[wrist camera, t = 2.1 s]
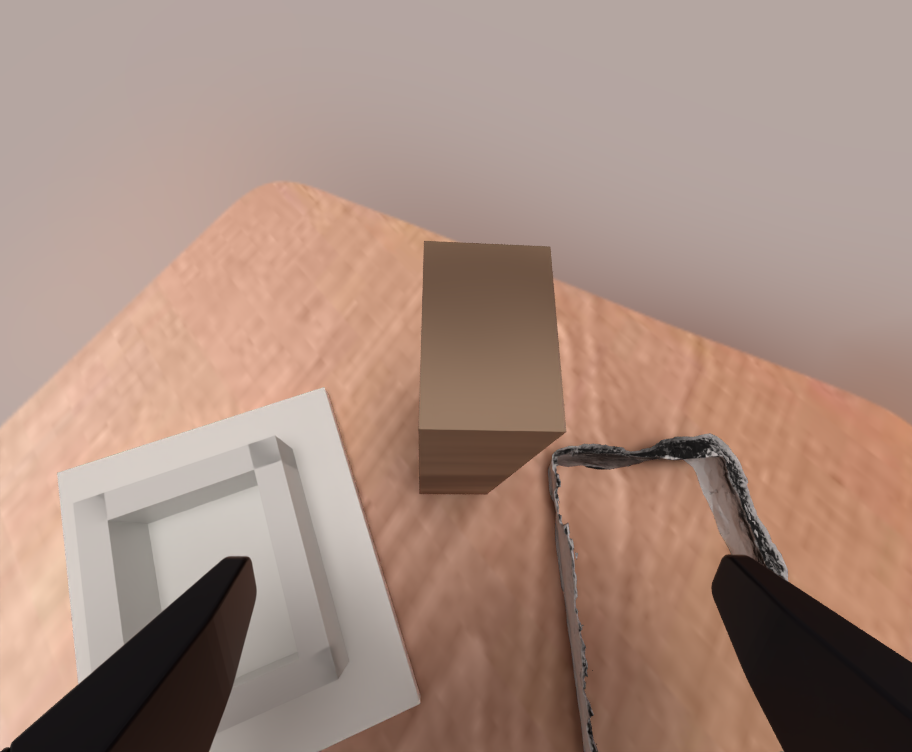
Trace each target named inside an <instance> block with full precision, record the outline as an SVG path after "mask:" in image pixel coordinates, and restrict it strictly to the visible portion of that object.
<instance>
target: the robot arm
mask: <svg viewBox="0 0 912 752" xmlns="http://www.w3.org/2000/svg"><path fill="white" fill-rule="evenodd" d="M712 595H713V598H714V601H715V603H716V606H717V608H718V611H719V613H720V615H721V618H722V620H723V623H724V625H725V628H726V630H727V632H728V635H729V637H730V640H731V642H732V645H733V647H734V649H735V652H736V654H737V657H738V659H739V662H740V664H741V666H742V669H743V671H744V673H745V675H746V678H747V680H748V682H749V684H750V686H751V688H752V690H753V692H754V694H755V696H756V698H757V700H758V702H759V704H760V706H761V708H762V710H763V712H764V714H765V715H766V717H767V719H768V721H769V723H770V725H771V727H772V729H773V731H774V733H775V735H776V737H777V739H778V741H779V743H780V745H781V746H782V748H783V750H784V752H912V662H910V661H909V660H907V659H906V658H904V657H903V656H901V655H899V654H898V653H896V652H895V651H893V650H892V649H890V648H889V647H887V646H886V645H884V644H883V643H881V642H880V641H878V640H877V639H875V638H874V637H872V636H870V635H869V634H867V633H866V632H864V631H863V630H861V629H860V628H858V627H857V626H855V625H854V624H852V623H851V622H849V621H848V620H846V619H845V618H843V617H841V616H840V615H838V614H837V613H835V612H834V611H832V610H831V609H829V608H828V607H826V606H825V605H823V604H822V603H820V602H819V601H817V600H816V599H814V598H812V597H811V596H809V595H808V594H806V593H805V592H803V591H802V590H800V589H799V588H797V587H796V586H794V585H793V584H791V583H790V582H788V581H787V580H785V579H783V578H782V577H780V576H779V575H777V574H776V573H774V572H773V571H771V570H770V569H768V568H767V567H765V566H764V565H762V564H761V563H759V562H758V561H756V560H754V559H753V558H751V557H750V556H747V555H725V556H724V557H723V558H722V559H721V562H720V564H719V567H718V569H717V572H716V574H715V577H714V579H713V582H712ZM256 596H257V587H256V581H255V576H254V570H253V565H252V561H251V559H250V557H248V556H228V557H225V558H223V559H222V560H221V561H220V562H219V563H217V564H216V565H215V566H214V567H213V568H212V569H211V570H209V571H208V572H207V573H206V574H205V575H204V576H202V577H201V578H200V579H199V580H198V581H197V582H196V583H194V584H193V585H192V586H191V587H190V588H189V589H187V590H186V591H185V592H184V593H183V594H182V595H181V596H179V597H178V598H177V599H176V600H175V601H174V602H172V603H171V604H170V605H169V606H168V607H167V608H166V609H164V610H163V611H162V612H161V613H160V614H159V615H158V616H156V617H155V618H154V619H153V620H152V621H151V622H149V623H148V624H147V625H146V626H145V627H144V628H143V629H141V630H140V631H139V632H138V633H137V634H136V635H134V636H133V637H132V638H131V639H130V640H129V641H128V642H126V643H125V644H124V645H123V646H122V647H121V648H120V649H118V650H117V651H116V652H115V653H114V654H113V655H111V656H110V657H109V658H108V659H107V660H106V661H105V662H103V663H102V664H101V665H100V666H99V667H98V668H96V669H95V670H94V671H93V672H92V673H91V674H90V675H88V676H87V677H86V678H85V679H84V680H83V681H81V682H80V683H79V684H78V685H77V686H76V687H75V688H73V689H72V690H71V691H70V692H69V693H68V694H67V695H65V696H64V697H63V698H62V699H61V700H60V701H58V702H57V703H56V704H55V705H54V706H53V707H52V708H50V709H49V710H48V711H47V712H46V713H45V714H43V715H42V716H41V717H40V718H39V719H38V720H37V721H35V722H34V723H33V724H32V725H31V726H30V727H29V728H27V729H26V730H25V731H24V732H23V733H22V734H20V735H19V736H18V737H17V738H16V739H15V740H14V741H13V742H12V743H11V746H10V748H9V747H6V748H4V749H3V750H2V751H1V752H209V751H210V748H211V745H212V743H213V740H214V737H215V735H216V732H217V729H218V727H219V724H220V721H221V719H222V716H223V713H224V711H225V708H226V705H227V702H228V699H229V697H230V694H231V691H232V687H233V684H234V680H235V677H236V673H237V669H238V666H239V662H240V658H241V654H242V650H243V647H244V643H245V639H246V635H247V632H248V628H249V624H250V620H251V617H252V613H253V609H254V605H255V601H256Z"/></svg>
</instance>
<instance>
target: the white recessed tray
mask: <svg viewBox="0 0 912 752" xmlns="http://www.w3.org/2000/svg"><path fill="white" fill-rule="evenodd" d="M57 475H58V485H59V495H60V506H61V516H62V526H63V536H64V546H65V556H66V566H67V576H68V586H69V596H70V606H71V616H72V626H73V636H74V646H75V656H76V666H77V676H78V684H79V683H80V682H81V681H83V680H84V679H85V678H86V677H87V676H88V675H90V674H91V673H92V672H93V671H94V670H95V669H96V668H98V667H99V666H100V665H101V664H102V663H103V662H105V661H106V660H107V659H108V658H109V657H110V656H111V655H113V654H114V653H115V652H116V651H117V650H118V649H120V648H121V647H122V646H123V645H124V644H125V643H126V642H128V641H129V640H130V639H131V638H132V637H133V636H134V635H136V634H137V633H138V632H139V631H140V630H141V629H143V628H144V627H145V626H146V625H147V624H148V623H149V622H151V621H152V620H153V619H154V618H155V617H156V616H158V615H159V614H160V613H161V612H162V611H163V610H164V609H166V608H167V607H168V606H169V605H170V604H171V603H172V602H174V601H175V600H176V599H177V598H178V597H179V596H181V595H182V594H183V593H184V592H185V591H186V590H187V589H189V588H190V587H191V586H192V585H193V584H194V583H196V582H197V581H198V580H199V579H200V578H201V577H202V576H204V575H205V574H206V573H207V572H208V571H209V570H211V569H212V568H213V567H214V566H215V565H216V564H217V563H219V562H220V561H221V560H222V559H223V558H225V557H228V556H248V557H250V559H251V561H252V565H253V570H254V576H255V581H256V587H257V596H256V601H255V605H254V609H253V613H252V617H251V620H250V624H249V628H248V632H247V635H246V639H245V643H244V647H243V650H242V654H241V658H240V662H239V666H238V669H237V673H236V677H235V680H234V684H233V687H232V691H231V694H230V697H229V699H228V702H227V705H226V708H225V711H224V713H223V716H222V719H221V721H220V724H219V727H218V729H217V732H216V735H215V737H214V740H213V743H212V745H211V748H210V751H209V752H319V751H321V750H323V749H326V748H328V747H330V746H332V745H334V744H336V743H338V742H340V741H342V740H345V739H347V738H349V737H351V736H353V735H355V734H357V733H359V732H361V731H364V730H366V729H368V728H370V727H372V726H374V725H376V724H378V723H380V722H383V721H385V720H387V719H389V718H391V717H393V716H395V715H397V714H399V713H402V712H404V711H406V710H408V709H410V708H412V707H414V706H416V705H418V704H420V693H419V689H418V686H417V683H416V680H415V676H414V673H413V670H412V667H411V663H410V660H409V657H408V653H407V650H406V647H405V644H404V640H403V637H402V634H401V630H400V627H399V624H398V621H397V617H396V614H395V611H394V608H393V604H392V601H391V598H390V594H389V591H388V588H387V585H386V581H385V578H384V575H383V572H382V568H381V565H380V562H379V558H378V555H377V552H376V549H375V545H374V542H373V539H372V536H371V532H370V529H369V526H368V522H367V519H366V516H365V513H364V509H363V506H362V503H361V499H360V496H359V493H358V490H357V486H356V483H355V480H354V477H353V473H352V470H351V467H350V463H349V460H348V457H347V454H346V450H345V447H344V444H343V441H342V437H341V434H340V431H339V427H338V424H337V421H336V418H335V414H334V411H333V408H332V405H331V401H330V398H329V395H328V393H327V391H326V389H325V388H324V387H323V388H320V389H317V390H314V391H310V392H307V393H304V394H301V395H298V396H295V397H292V398H289V399H286V400H282V401H279V402H276V403H273V404H270V405H267V406H264V407H261V408H258V409H254V410H251V411H248V412H245V413H242V414H239V415H236V416H233V417H230V418H226V419H223V420H220V421H217V422H214V423H211V424H208V425H205V426H202V427H198V428H195V429H192V430H189V431H186V432H183V433H180V434H177V435H174V436H170V437H167V438H164V439H161V440H158V441H155V442H152V443H149V444H146V445H142V446H139V447H136V448H133V449H130V450H127V451H124V452H121V453H118V454H114V455H111V456H108V457H105V458H102V459H99V460H96V461H93V462H90V463H86V464H83V465H80V466H77V467H74V468H71V469H68V470H65V471H62V472H58V473H57Z"/></svg>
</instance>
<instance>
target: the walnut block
mask: <svg viewBox="0 0 912 752" xmlns="http://www.w3.org/2000/svg"><path fill="white" fill-rule="evenodd" d="M565 432H566V423H565V411H564V400H563V388H562V376H561V365H560V353H559V342H558V330H557V319H556V307H555V295H554V284H553V272H552V262H551V249H550V247H545V246H524V245H502V244H479V243H458V242H436V241H424V261H423V296H422V330H421V365H420V400H419V493H420V494H488V493H489V492H490V491H491V490H493V489H494V488H495V487H497V486H498V485H499V484H500V483H502V482H503V481H504V480H505V479H507V478H508V477H509V476H511V475H512V474H513V473H514V472H516V471H517V470H518V469H519V468H521V467H522V466H523V465H525V464H526V463H527V462H528V461H530V460H531V459H532V458H533V457H535V456H536V455H537V454H539V453H540V452H541V451H542V450H544V449H545V448H546V447H547V446H549V445H550V444H551V443H553V442H554V441H555V440H556V439H558V438H559V437H560V436H561V435H563V434H564V433H565Z"/></svg>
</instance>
